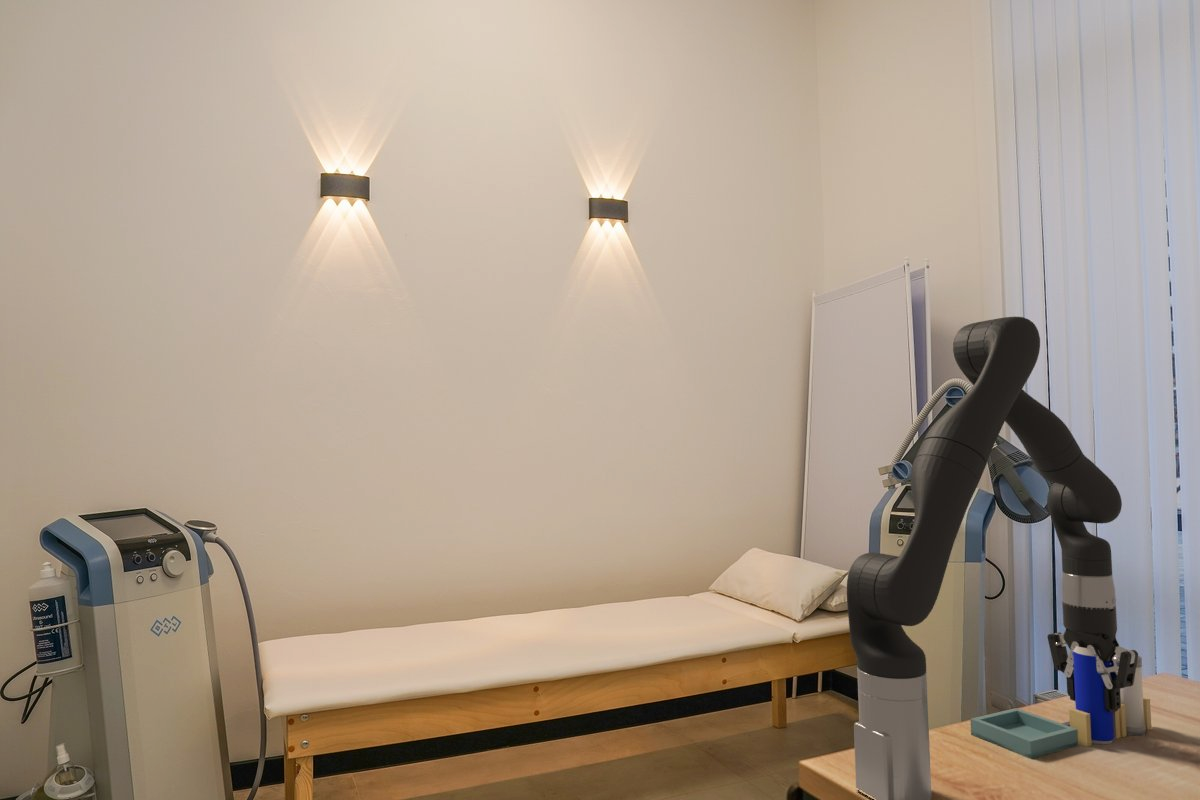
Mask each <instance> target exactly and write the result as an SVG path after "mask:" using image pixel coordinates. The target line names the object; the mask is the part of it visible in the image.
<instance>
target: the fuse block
mask: <svg viewBox="0 0 1200 800" xmlns="http://www.w3.org/2000/svg"><path fill="white" fill-rule="evenodd" d="M1143 705H1144V723H1145V728H1146V730H1147V731H1149V730H1152V712H1151V698H1149V697H1146V696H1143ZM1068 713H1069V717H1068V718H1069V721H1065V722H1061V724H1064V725H1067V726H1070V727H1073V728H1075V729H1077V730H1078V745H1080V746H1081V745H1082V746H1085V747H1091V746H1092V745H1093V743H1091V724H1090V714H1089V713H1086V712H1083V711H1080V710H1077V709H1076V708H1070V709H1068ZM1113 723H1114V739H1120V738H1121V737H1122V738H1124V737H1126V736H1127V735H1128V734H1126V715H1125V705H1123V704H1121V707H1120V708H1119V709H1118V711H1116V712H1113Z"/></svg>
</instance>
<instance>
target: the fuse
mask: <svg viewBox="0 0 1200 800" xmlns="http://www.w3.org/2000/svg"><path fill="white" fill-rule="evenodd" d="M1117 658H1118V656H1117V654H1115V656H1114V660H1115V662H1116V664H1117V667H1118V668H1119V661H1118V660H1117ZM1142 666H1143V658H1142V657H1141V656H1140V655H1138V659H1137V665H1136V672H1135V678H1134V684H1133V686H1129V687H1125V688H1121V689H1120V696H1121V704H1123V705H1125V715H1126V734H1127V735H1128V736H1129V735H1130V736H1144V735H1146V728H1145V723H1144V705H1143V697H1144V691H1143V690H1144V689H1143V672H1142V671H1143V670H1142Z"/></svg>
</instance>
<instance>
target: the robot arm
mask: <svg viewBox="0 0 1200 800" xmlns="http://www.w3.org/2000/svg"><path fill="white" fill-rule="evenodd" d="M1040 350H1041V337H1040V332H1039V329H1038V328H1037V326H1036V325H1035V323H1034V321H1031V320H1030V319H1029V318H1026V317H1023V316H1007V317H1006V316H1005V317H999V318H993V319H987V320H983V321H978V322H973V323H969V324H966V325H964V326H962V327H961V328H960V329H959V330H958V331H957V332H956V334H955V336H954V339H953V344H952V353H953V357H954V360H955V362H956V364H957V366H958V368H959V369H960V371H961V372H962V374H963V375H964V376H965V378H966V379H967V380H968V381H969V382H970V383H971V384H972V385H973V386H972V387H971V388H970V389H969V391H968V392H967V393H966V394H965V395H964V396H963V397H962V398H960V400H959V401H957V402H956V403H955V404H954V405H953V406H952V407H951V408H950V409H948V410H947V411H946V412H945V413H944V414H943V415H942V416H940V417H939V418H938V419H937V421H936V422H935V423H934V424H933V425H932V426H931V427H930V428H929V430H928V432H927V433H926V435H925V437H924V439H922V443H921V444H920V447H919V449H918V451H917V454H916V456H915V458H914V459H913V462H912V466H911V468H910V478H909V481H910V490H911V496H912V497H911V498H912V503H913V509H914V520H913V524H912V528H911V531H910V533H909V536H908V538H907V541H906V543H905V545H904V547H903V549H902V551H901V553H900V555H893V554H885V553H880V552H867V553H863V554H860V556H858V557H857V558H856V559H855V560H854V561H853V563H852V564H851V566H850V569H849V571H848V575H847V579H846V604H847V605H846V606H847V616H848V618H847V619H848V626H849V627H848V629H849V637H850V643H851V647H852V649H853V651H854V653H855V656H856V664H857V666H856V668H857V669H856V671H857V697H858V721H856V722H854V724H853V738H854V739H853V742H854V767H855V789H856V788H858V789H859V790H862V791H863V792H865V793H866V794H868V795H870V796H872V797H873V798H875V799H876V800H932V796H933V794H932V775H931V754H930V750H931V749H930V748H931V747H930V730H929V728H930V727H929V723H930V722H929V704H928V681H927V680H928V678H927V677H928V676H927V657H926V653H925V652H924V650H923V649H922V647H920V646H919V645H918V644H917V643H916V642H914V641H913V640H912V639H911V637H910V636H908V635H907V633H906V631H905V630H904V628H903V626H905V627H914V626H918V625H920V624H921V623H922V622H924V621H925V620H926V619H927V618H928V616H929V615H930V614H931V613H932V610H933V608H934V607H935V604H936V602H937V599H938V596H939V595H940V594H939V593H940V592H941V591H940V590H941V587H942V584H943V581H944V577H945V574H946V571H947V567H948V563H949V560H950V557H951V553H952V550H953V547H954V544H955V542H956V538H957V535H958V533H959V531H960V528H961V525H962V523H963V519H964V518H965V515H966V512H967V510H968V507H969V505H970V502H971V501H972V498H973V495H974V494H975V492H976V489H977V487H978V486H979V484H980V481H981V478H982V476H983V474H984V472H985V469H986V467H987V464H988V462H989V458H990V456H991V453H992V450H993V448H994V446H995V444H996V441H997V439H998V436H999V435H1000V432H1001V430H1002V429H1003V426H1004V424H1005V423H1006V424H1007V425H1008V426H1009V428H1010V429H1011V430H1012V431H1013V433H1014V434H1015V436H1016V437H1017V438H1018V440H1019V441H1020V443H1021V444H1022V446H1023V448H1024V449H1025V451H1026V453H1027V454H1028V457H1030V459H1031V461H1032V463H1033V465H1034V466H1035V468H1036V469H1037V471H1038V472H1039V473H1040V475H1041V476H1042V478H1044V479H1045V480H1047V481H1049V482H1052V485H1051V486H1050V487H1049V490H1048V492H1047V495H1046V497H1047V498H1046V503H1047V504H1046V505H1047V510H1048V513H1049V516H1050V519H1051V521H1052V524H1053V528H1054V530H1055V533H1056V537H1057V539H1058V542H1059V545H1060V547H1061V568H1062V569H1061V570H1062V571H1061V572H1062V574H1061V575H1062V576H1061V605H1062V622H1063V624H1062V625H1063V627H1064V628H1065V630H1064V633H1062V632H1055V633H1048V634H1047V641H1048V645H1049V650H1050V655H1051V660H1052V663H1053V667H1054V669H1055V670H1056V671H1059V672H1061V673H1063V674H1064V676H1065V677H1066V693H1067V695H1068V696H1069V699H1070V701H1074V702H1075V684H1074V662H1073V650H1074V649H1075V647H1076V646H1078V647H1083V648H1087V649H1090V650H1091V652H1092V654H1093V655H1095V656H1096V660H1097V661H1096V666H1097V672H1098V673H1099V674H1100V675H1101V676H1102V679H1103V681H1104V684H1105V686H1106V687H1107V688H1104V694H1105V710H1106V711H1108V712H1111V713H1112V712H1116V711H1118V709H1119V708H1120V707H1121V696H1120V689H1121V688H1125V687H1129V686H1133V684H1134V678H1135V672H1136V665H1137V659H1138V656H1139V653H1138V651H1137V650H1135V649H1130V650H1129V649H1126V648H1124V647H1122V646H1120V644H1119V642H1118V640H1117V638H1116V637H1117V632H1118V620H1117V603H1116V602H1117V599H1116V589H1115V584H1114V577H1113V564H1112V562H1113V561H1112V557H1113V556H1112V549H1111V545H1110V543H1109V541H1107V540H1106V539H1105V538H1102V537H1099V536H1097V535H1094V534H1092V533H1090V532H1089V531H1088V530H1087V527H1086V525H1085V523H1092V524H1108V523H1111V522H1114V521H1115V520H1116V519H1117V518H1118V517H1119V515H1120V513H1121V512H1122V506H1123V505H1122V504H1123V502H1122V497H1121V494H1120V491H1119V490H1118V488H1117V486H1116V484H1115V483H1114V482H1113V481H1112V479H1110V478H1109V476H1108V475H1107V474H1105V473H1104V472H1103V470H1102V469H1100V468H1099V467H1098V466H1097V465H1096V464H1095V463H1094V462H1093V461H1092V460H1090V459H1089V458H1088V457H1087V456H1086V455H1085V454H1084V452H1083V451H1082V448H1080V445H1079V444H1078V442H1077V440H1076V438H1075V437H1074V435H1073V434H1072V432H1071V430H1070V429H1069V428H1068V426H1067V425H1066V424H1065V422H1064V421H1063V420H1062V419H1061V418H1060V417H1059V416H1058V415H1056V414H1055V413H1054V412H1053V411H1051V409H1049V408H1047V407H1046V406H1045V405H1044V404H1042V403H1041V402H1039V401H1038V400H1036V399H1035V398H1034V397H1033V396H1031V395H1030V394H1029V393H1027V391H1025V390H1024V389H1023V388H1024V386H1025V384H1026V383H1027V381H1028V379H1029V378H1030V376H1031V375H1032V372H1033V370H1034V368H1035V367H1036V363H1038V358H1039V355H1040ZM1067 647H1068V648H1069V653H1068V651H1067ZM1098 650H1099V651H1098ZM1099 653H1100V654H1099ZM1115 654H1117V656H1118V658H1117V660H1118V661H1119V668H1118V667H1117V664H1116V662H1115V660H1114V656H1115ZM1106 662H1110V667H1108V668H1106V667H1105V666H1104V664H1103V663H1106Z"/></svg>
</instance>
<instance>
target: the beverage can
mask: <svg viewBox="0 0 1200 800" xmlns="http://www.w3.org/2000/svg"><path fill="white" fill-rule="evenodd" d="M1098 651H1099V650H1098ZM1099 654H1100V653H1099ZM1096 661H1097V660H1096V656H1095V655H1093V654H1092V652H1091V650H1090V649H1087V648H1083V647H1078V646H1076V647H1075V649H1074V650H1073V662H1074V684H1075V701H1074V702H1075V704H1074V705H1075V709H1077V710H1080V711H1083V712H1086V713H1089V714H1090V724H1091V744H1095V745H1109V744H1111V743H1112V742H1113V741H1114V740H1115V738H1114V723H1113V712H1112V713H1111V712H1108V711H1106V710H1105V694H1104V688H1107V687H1106V686H1105V684H1104V681H1103V679H1102V676H1101V675H1100V674H1099V673H1098V672H1097V666H1096ZM1103 664H1104V666H1105V667H1106V668H1108V667H1110V662H1106V663H1103Z"/></svg>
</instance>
